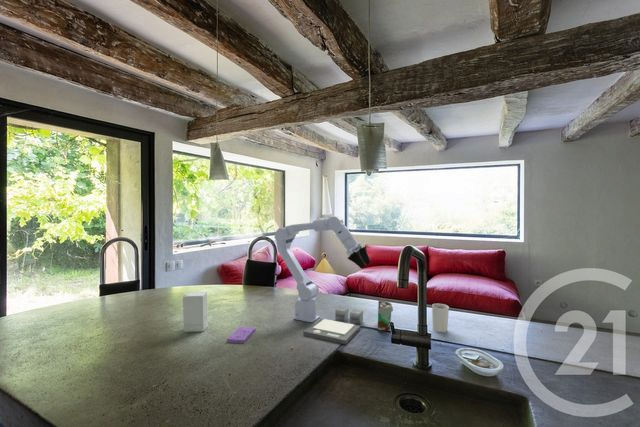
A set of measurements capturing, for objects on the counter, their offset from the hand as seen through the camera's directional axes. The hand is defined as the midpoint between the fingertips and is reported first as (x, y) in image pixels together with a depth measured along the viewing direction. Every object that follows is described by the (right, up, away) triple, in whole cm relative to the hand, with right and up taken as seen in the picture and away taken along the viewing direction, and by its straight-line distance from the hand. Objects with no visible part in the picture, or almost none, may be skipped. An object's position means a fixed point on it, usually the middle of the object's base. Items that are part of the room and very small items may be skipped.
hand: (366, 265), depth 130 cm
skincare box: (-71, -26, -4) cm, 76 cm away
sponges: (-51, -27, -9) cm, 58 cm away
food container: (+8, -27, +1) cm, 28 cm away
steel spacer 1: (-10, -26, +9) cm, 30 cm away
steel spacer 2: (-4, -26, +6) cm, 27 cm away
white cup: (+31, -27, -1) cm, 41 cm away
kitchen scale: (-15, -26, -5) cm, 31 cm away
